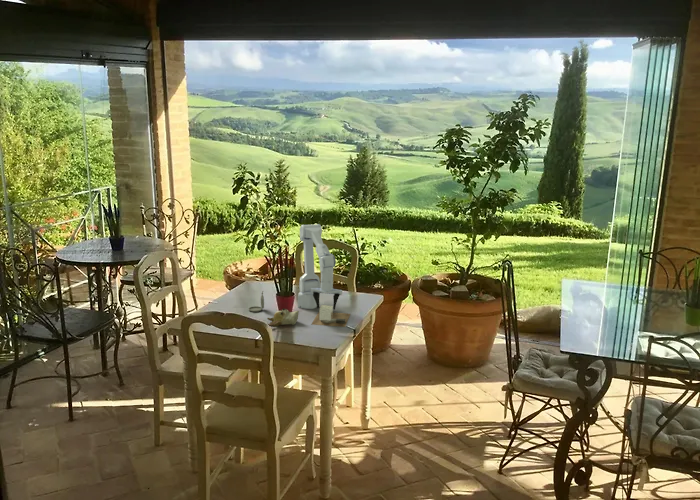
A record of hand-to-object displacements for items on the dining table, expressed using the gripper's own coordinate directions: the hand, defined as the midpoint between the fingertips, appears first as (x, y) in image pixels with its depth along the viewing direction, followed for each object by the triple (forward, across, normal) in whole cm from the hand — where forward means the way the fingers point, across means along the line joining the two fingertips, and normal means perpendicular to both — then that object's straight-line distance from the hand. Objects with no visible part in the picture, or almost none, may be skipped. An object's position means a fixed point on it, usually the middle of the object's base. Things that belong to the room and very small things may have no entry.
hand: (326, 308), depth 273 cm
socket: (+5, 0, 0) cm, 5 cm away
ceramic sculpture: (+8, -20, -6) cm, 22 cm away
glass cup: (+8, -37, +13) cm, 40 cm away
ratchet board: (+8, +2, +4) cm, 9 cm away
